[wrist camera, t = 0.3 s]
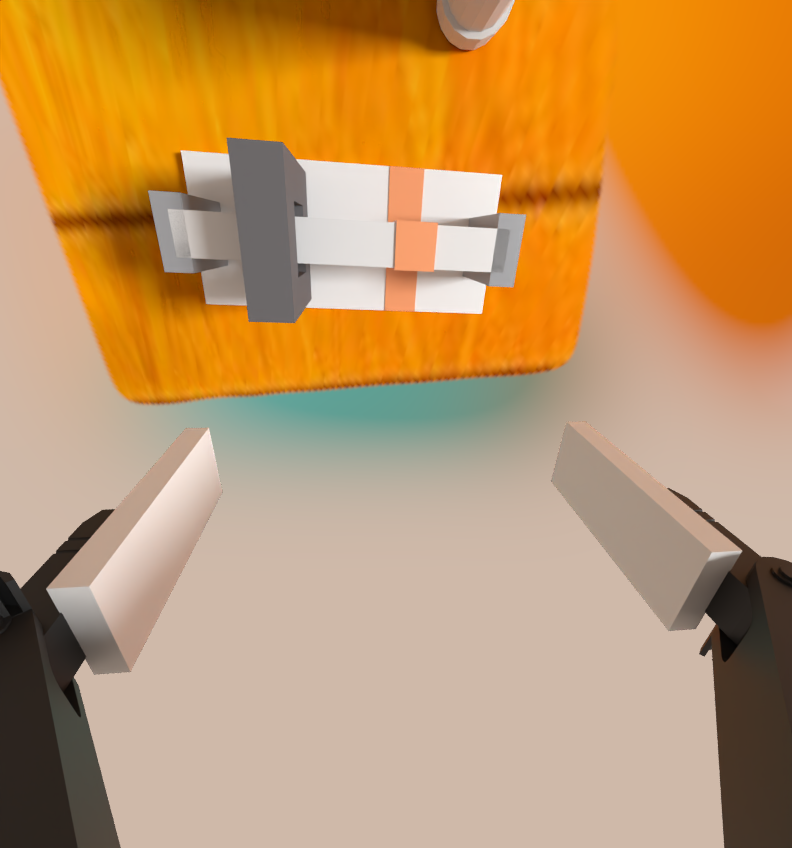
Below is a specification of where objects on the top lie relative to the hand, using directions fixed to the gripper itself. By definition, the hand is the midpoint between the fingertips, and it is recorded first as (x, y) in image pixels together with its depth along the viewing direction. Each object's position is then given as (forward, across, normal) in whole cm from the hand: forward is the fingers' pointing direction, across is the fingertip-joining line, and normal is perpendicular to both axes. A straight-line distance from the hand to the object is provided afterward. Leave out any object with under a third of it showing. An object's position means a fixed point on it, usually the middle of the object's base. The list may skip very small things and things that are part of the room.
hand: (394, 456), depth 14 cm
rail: (+27, -2, +7) cm, 28 cm away
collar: (+25, -7, +7) cm, 27 cm away
